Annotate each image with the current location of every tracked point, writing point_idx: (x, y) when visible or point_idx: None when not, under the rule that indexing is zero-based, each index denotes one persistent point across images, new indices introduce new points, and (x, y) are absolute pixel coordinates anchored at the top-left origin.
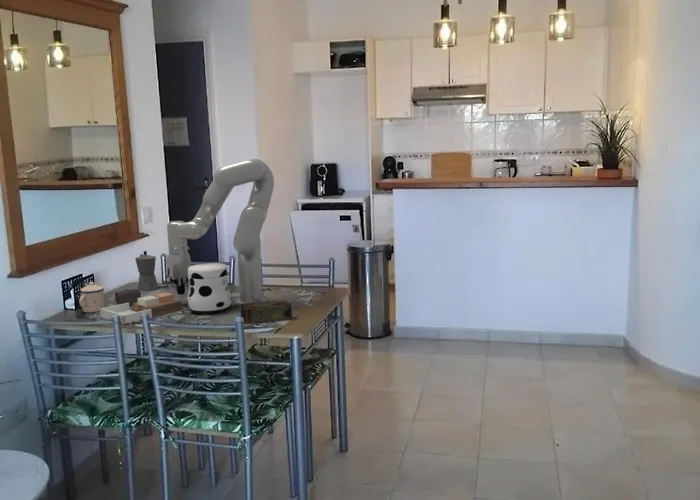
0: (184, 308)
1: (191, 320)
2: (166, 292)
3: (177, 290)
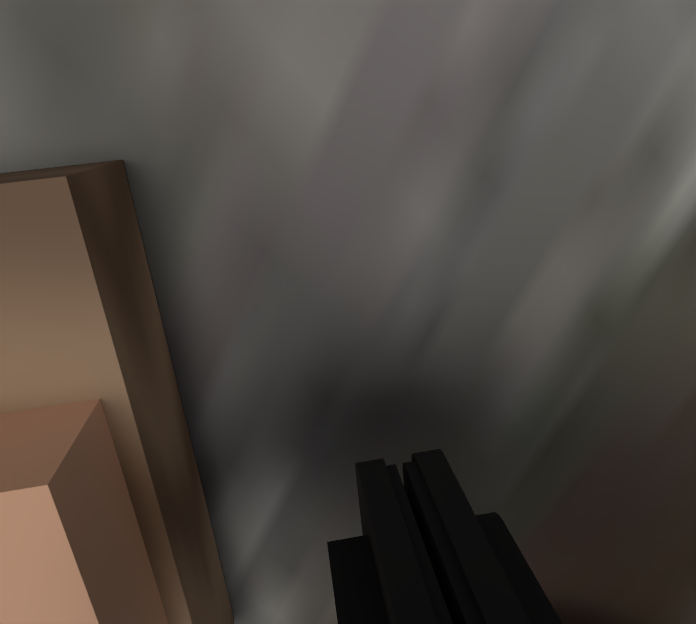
0: (296, 580)
1: None
2: (52, 513)
3: (337, 594)
